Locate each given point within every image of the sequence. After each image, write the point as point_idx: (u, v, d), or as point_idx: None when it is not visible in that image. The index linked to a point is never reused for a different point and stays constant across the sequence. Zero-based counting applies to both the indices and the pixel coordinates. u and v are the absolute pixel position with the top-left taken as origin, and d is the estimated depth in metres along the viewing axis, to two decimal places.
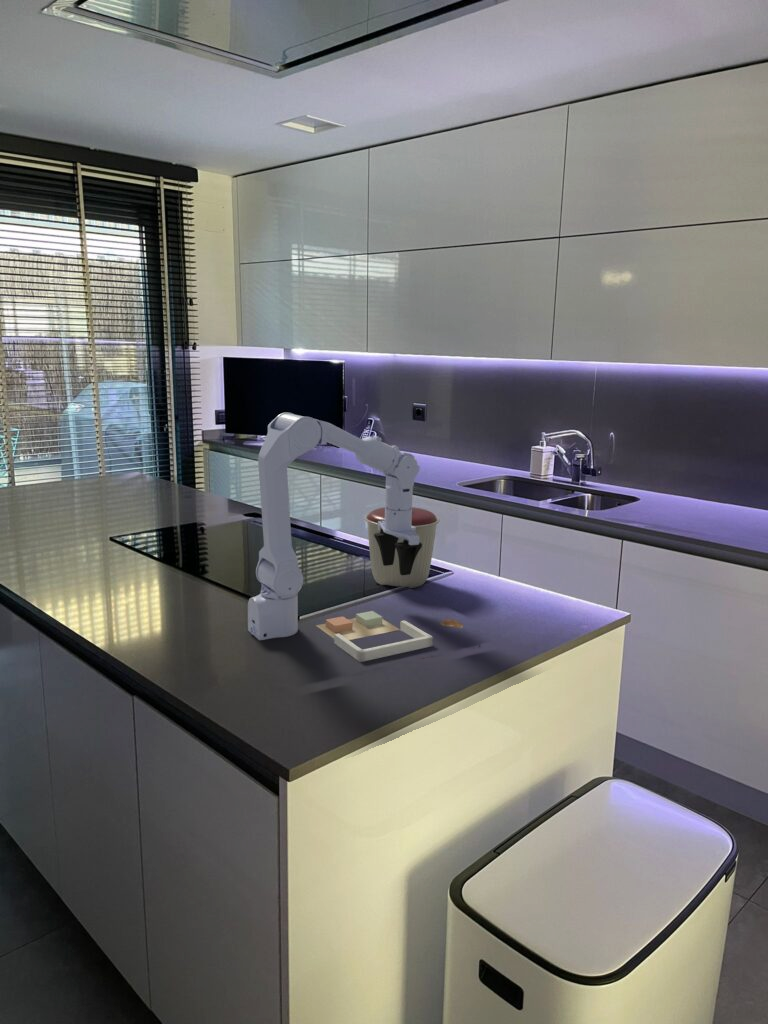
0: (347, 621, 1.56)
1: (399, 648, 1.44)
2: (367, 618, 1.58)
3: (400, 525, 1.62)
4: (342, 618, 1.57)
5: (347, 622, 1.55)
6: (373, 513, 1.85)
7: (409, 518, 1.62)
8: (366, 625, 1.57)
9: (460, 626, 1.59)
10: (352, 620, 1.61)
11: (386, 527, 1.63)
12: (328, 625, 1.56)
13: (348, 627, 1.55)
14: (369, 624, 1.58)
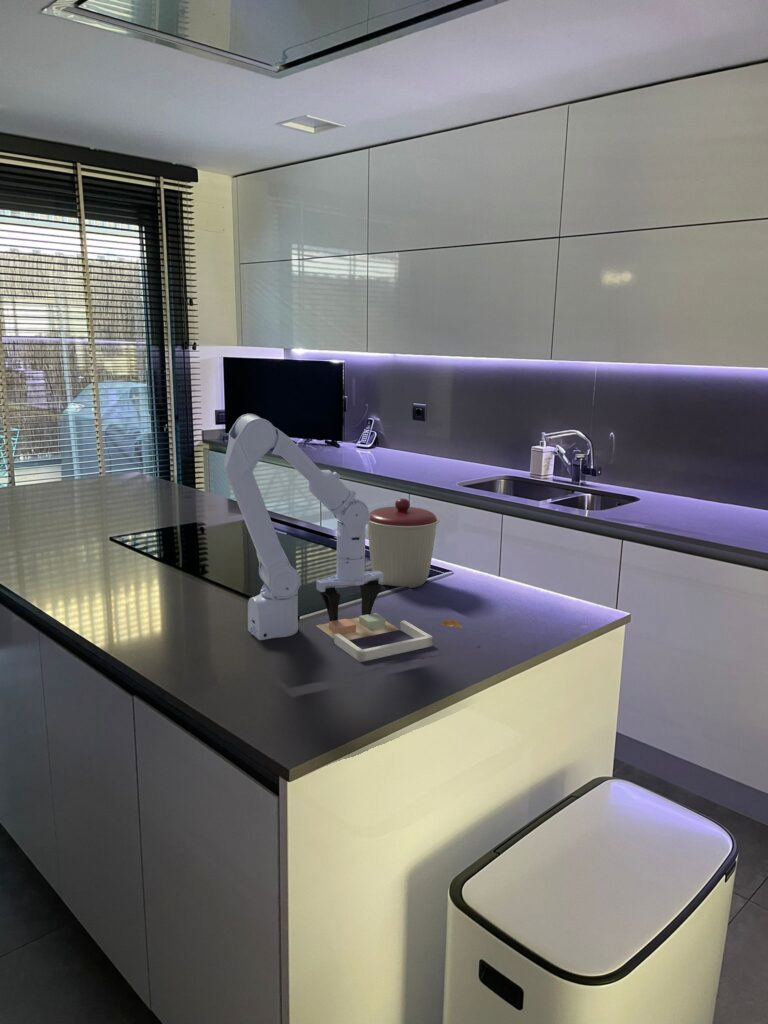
0: (350, 623, 1.55)
1: (399, 648, 1.44)
2: (370, 620, 1.57)
3: None
4: (345, 620, 1.56)
5: (351, 624, 1.54)
6: (373, 513, 1.85)
7: (342, 567, 1.55)
8: (369, 627, 1.56)
9: (460, 626, 1.59)
10: (352, 620, 1.61)
11: None
12: (332, 628, 1.54)
13: (352, 629, 1.54)
14: (372, 626, 1.56)
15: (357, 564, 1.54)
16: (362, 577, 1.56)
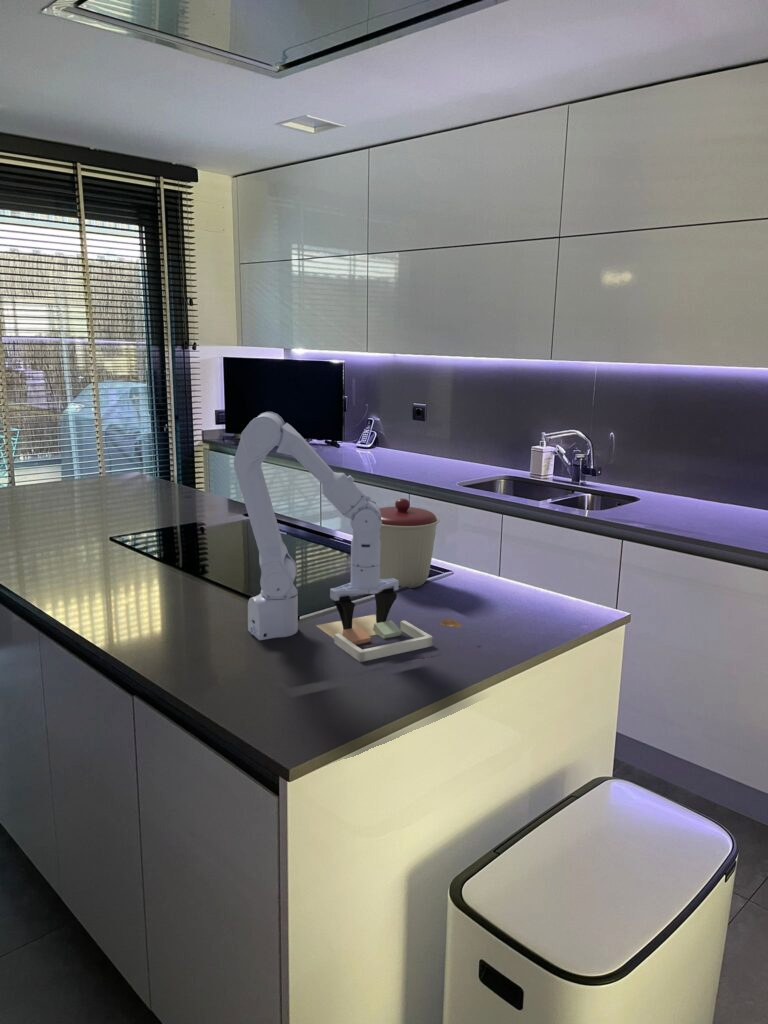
0: (365, 635, 1.50)
1: (399, 648, 1.44)
2: (386, 632, 1.52)
3: (351, 578, 1.52)
4: (360, 629, 1.51)
5: (365, 637, 1.49)
6: None
7: (357, 575, 1.50)
8: None
9: (460, 626, 1.59)
10: (352, 620, 1.61)
11: None
12: (346, 637, 1.50)
13: None
14: None
15: (372, 572, 1.49)
16: (377, 585, 1.51)
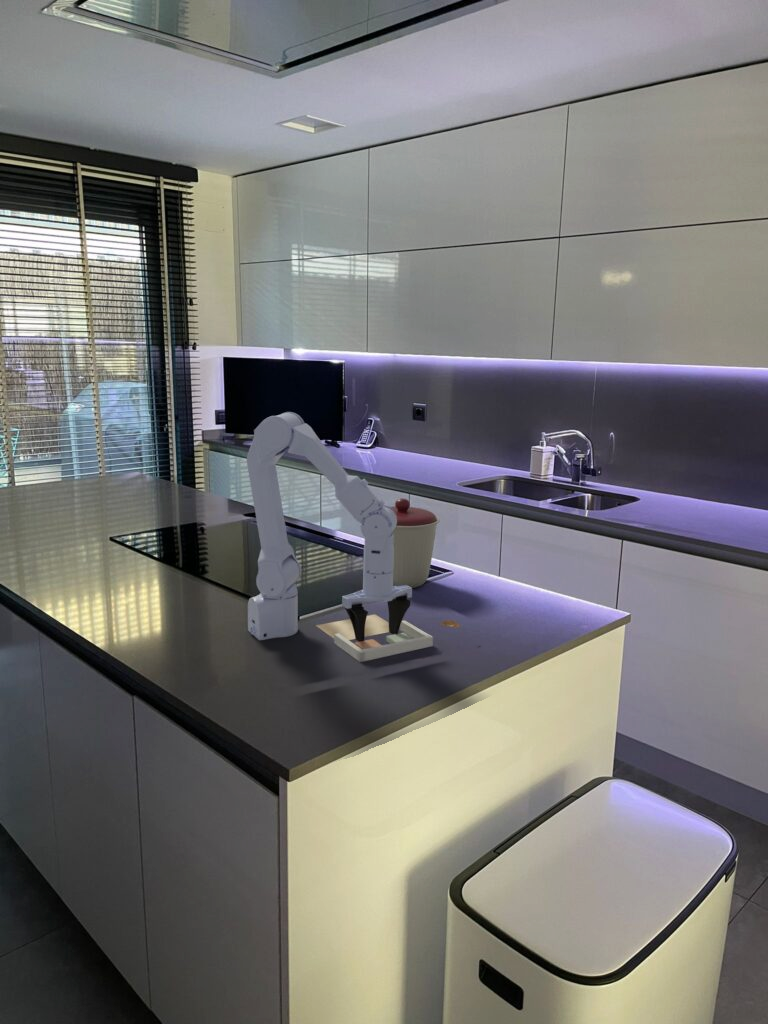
0: (377, 644, 1.46)
1: (399, 648, 1.44)
2: (398, 641, 1.48)
3: (363, 586, 1.47)
4: (372, 641, 1.47)
5: None
6: None
7: (370, 582, 1.46)
8: None
9: None
10: None
11: None
12: None
13: None
14: None
15: (385, 579, 1.45)
16: (390, 593, 1.47)
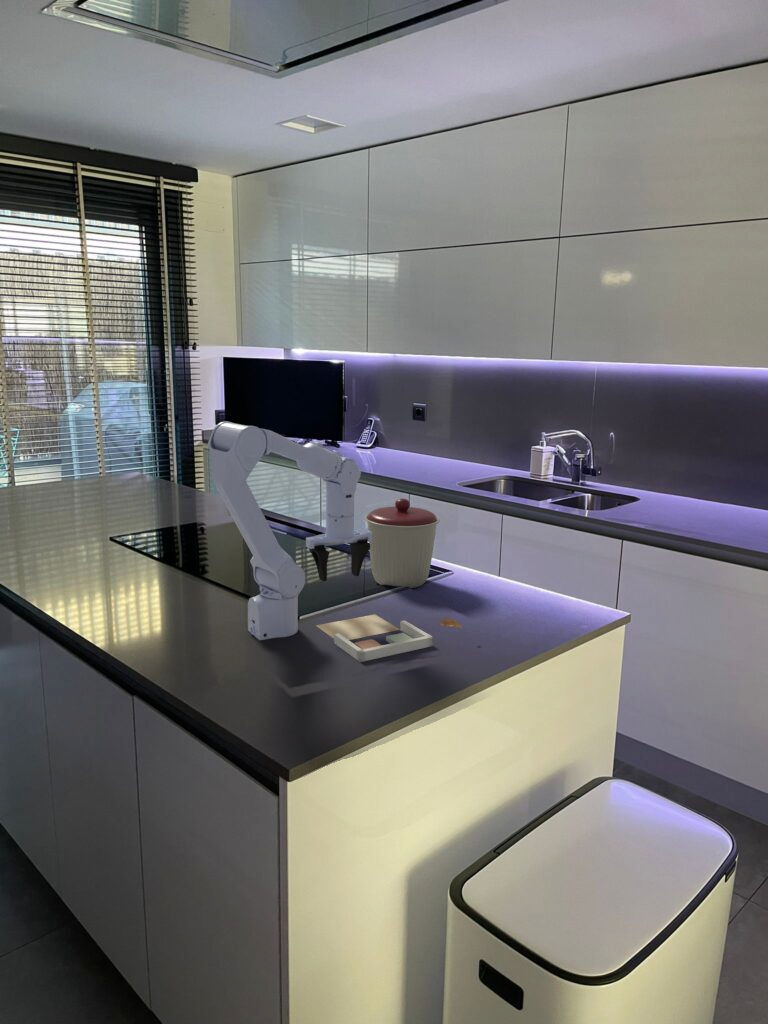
0: (377, 644, 1.46)
1: (399, 648, 1.44)
2: (398, 641, 1.48)
3: (326, 529, 1.60)
4: (372, 641, 1.47)
5: None
6: (373, 513, 1.85)
7: (331, 525, 1.58)
8: None
9: (460, 626, 1.59)
10: (352, 620, 1.61)
11: None
12: None
13: None
14: None
15: (346, 522, 1.58)
16: (351, 535, 1.59)
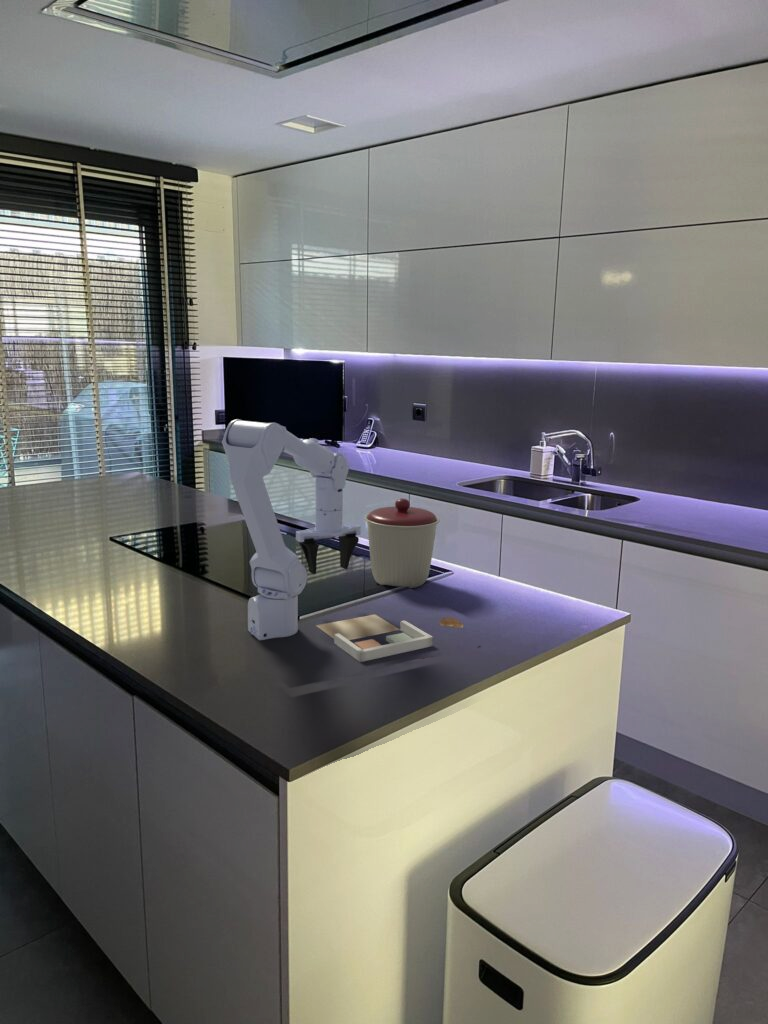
0: (377, 644, 1.46)
1: (399, 648, 1.44)
2: (398, 641, 1.48)
3: (315, 523, 1.64)
4: (372, 641, 1.47)
5: None
6: (373, 513, 1.85)
7: (321, 519, 1.62)
8: None
9: (460, 626, 1.59)
10: (352, 620, 1.61)
11: None
12: None
13: None
14: None
15: (335, 516, 1.62)
16: (339, 529, 1.63)
